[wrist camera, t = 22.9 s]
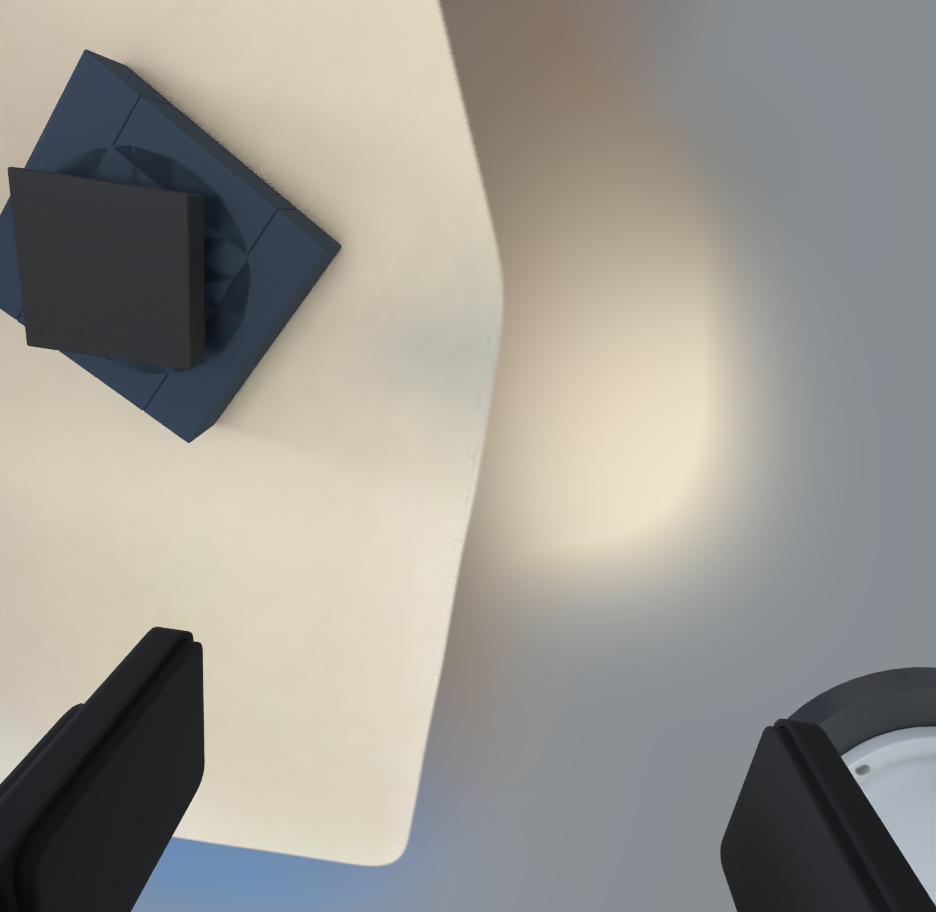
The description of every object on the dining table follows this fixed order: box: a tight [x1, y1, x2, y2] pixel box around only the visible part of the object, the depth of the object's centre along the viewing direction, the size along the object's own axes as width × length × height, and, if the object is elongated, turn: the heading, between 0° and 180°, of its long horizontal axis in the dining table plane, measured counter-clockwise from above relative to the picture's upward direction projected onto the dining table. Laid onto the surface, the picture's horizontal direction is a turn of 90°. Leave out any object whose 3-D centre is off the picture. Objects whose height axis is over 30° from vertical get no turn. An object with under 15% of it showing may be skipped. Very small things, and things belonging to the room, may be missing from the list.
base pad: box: [0, 50, 341, 443], centre depth 30 cm, size 12×12×3 cm
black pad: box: [8, 167, 205, 370], centre depth 28 cm, size 7×7×6 cm
